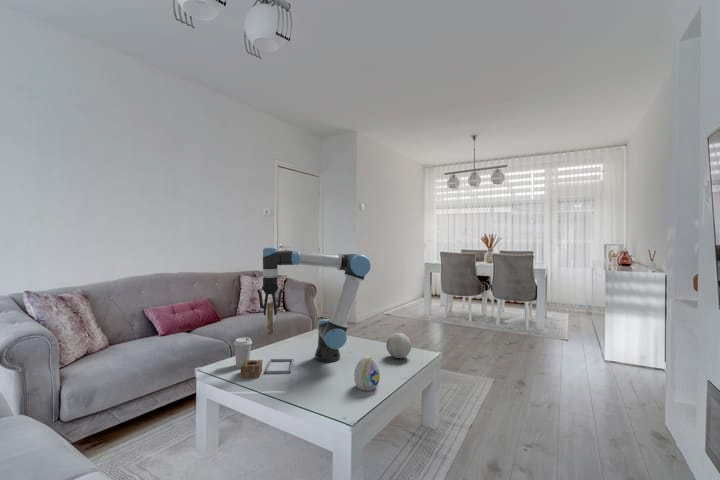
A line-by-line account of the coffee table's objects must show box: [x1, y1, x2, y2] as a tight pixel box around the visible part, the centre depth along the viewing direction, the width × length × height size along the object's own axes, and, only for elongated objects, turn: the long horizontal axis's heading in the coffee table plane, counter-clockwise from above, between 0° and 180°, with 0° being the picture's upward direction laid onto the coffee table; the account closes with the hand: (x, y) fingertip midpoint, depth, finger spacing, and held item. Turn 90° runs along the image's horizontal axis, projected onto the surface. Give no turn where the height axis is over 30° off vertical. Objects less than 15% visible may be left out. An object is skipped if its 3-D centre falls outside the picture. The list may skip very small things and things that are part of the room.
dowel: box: [267, 302, 274, 335], centre depth 182 cm, size 3×3×16 cm
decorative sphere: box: [386, 332, 412, 359], centre depth 210 cm, size 15×15×15 cm
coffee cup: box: [233, 337, 253, 369], centre depth 187 cm, size 10×10×15 cm
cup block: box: [240, 359, 263, 379], centre depth 176 cm, size 9×9×6 cm
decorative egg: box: [353, 355, 381, 392], centre depth 165 cm, size 12×12×15 cm
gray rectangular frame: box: [264, 358, 295, 375], centre depth 187 cm, size 13×19×2 cm
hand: (270, 321), depth 182 cm, fingers closed on dowel, 3 cm apart
